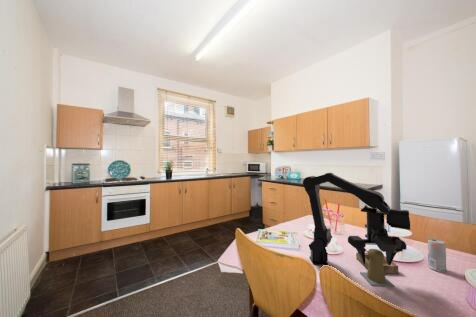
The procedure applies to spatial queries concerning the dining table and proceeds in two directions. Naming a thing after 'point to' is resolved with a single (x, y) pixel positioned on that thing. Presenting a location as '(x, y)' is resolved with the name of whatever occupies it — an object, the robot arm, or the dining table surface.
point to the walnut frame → (387, 268)
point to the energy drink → (437, 255)
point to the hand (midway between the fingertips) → (376, 264)
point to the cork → (376, 266)
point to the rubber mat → (386, 284)
